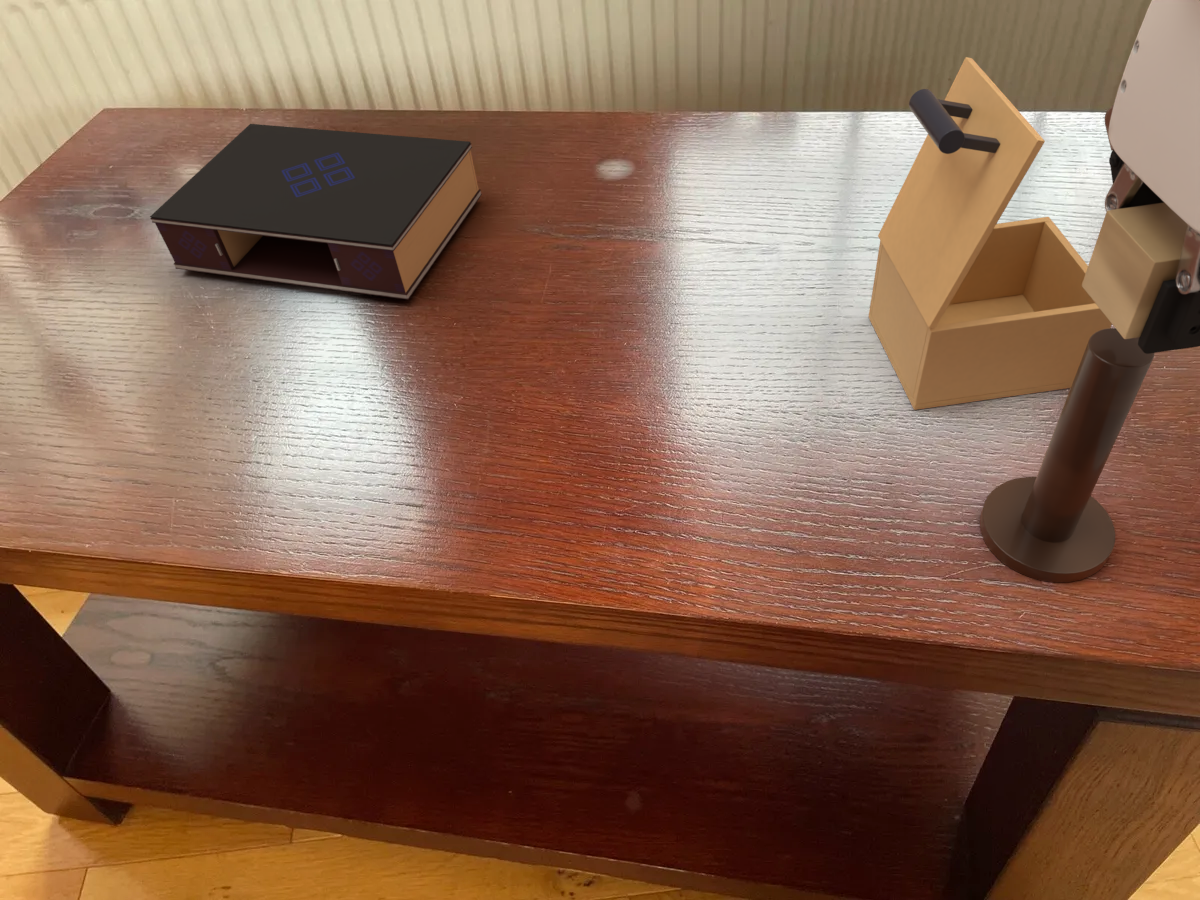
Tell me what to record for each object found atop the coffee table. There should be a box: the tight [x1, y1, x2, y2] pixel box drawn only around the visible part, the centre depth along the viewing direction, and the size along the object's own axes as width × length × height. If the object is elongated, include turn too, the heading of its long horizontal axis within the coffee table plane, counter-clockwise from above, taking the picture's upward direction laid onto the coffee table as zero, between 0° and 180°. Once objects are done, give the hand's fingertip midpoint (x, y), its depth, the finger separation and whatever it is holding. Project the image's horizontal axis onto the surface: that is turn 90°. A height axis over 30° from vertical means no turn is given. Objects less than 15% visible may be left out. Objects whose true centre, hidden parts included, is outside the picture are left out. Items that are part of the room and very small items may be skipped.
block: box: [1082, 203, 1187, 339], centre depth 46 cm, size 4×4×4 cm
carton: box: [868, 216, 1113, 411], centre depth 71 cm, size 13×11×8 cm
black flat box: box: [149, 123, 482, 300], centre depth 90 cm, size 17×25×7 cm
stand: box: [979, 327, 1155, 583], centre depth 56 cm, size 8×8×16 cm
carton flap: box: [877, 56, 1046, 328], centre depth 63 cm, size 14×11×5 cm
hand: (1143, 310), depth 47 cm, fingers closed on block, 4 cm apart
